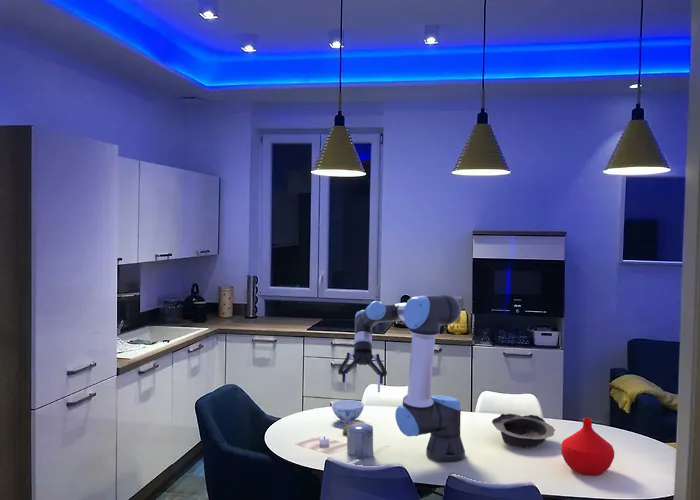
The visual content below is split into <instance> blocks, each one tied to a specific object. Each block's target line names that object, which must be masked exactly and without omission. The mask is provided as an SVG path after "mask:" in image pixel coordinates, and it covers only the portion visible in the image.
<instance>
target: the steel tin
mask: <svg viewBox="0 0 700 500" xmlns="http://www.w3.org/2000/svg"><path fill="white" fill-rule="evenodd" d="M346 443H347V449H346V453H347V454H348V455H349V456H351V457H354V458H356V460H367V459H368V460H369V459H370V458H373V455H374V427H373V425H371V424H369V423H368V424H367V423H362V422H361V423H358V424H351V425H349V426H348V427H347V436H346Z"/></svg>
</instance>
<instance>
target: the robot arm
mask: <svg viewBox="0 0 700 500" xmlns="http://www.w3.org/2000/svg"><path fill="white" fill-rule="evenodd" d="M461 312H462V306H461V304H460V302H459V300H458V299H457V298H456V297H454V296H452V295H450V294H433V295H432V294H431V295H418V296H413V297H411V298H409V299H408V300H407V302H399V303H390V304H384V303H383V302H381V301H379V300H374V301H372V302H371V303H370V304H369V305H367V306H366V308H365V309H362V310H360V311H357V312H356V313H355V318H354V345H353V347H354V348H353V353H350V352H347V353H346V356H345V359H344V360H343V362H342V364H341V365H340V367H339V369H338V371H337V372H338V375H341V376H342V377H341V378H342V379H341V381H342V383H343V384H344V391H345V392H347V390H348V387H347V385H348V374H349V372H350V371H351V370H352V369H354V368H355V366H357V365H358V366H367V365H368V366H369V367H370V368H371V369H372V370H373V371H374V372H375V373H376V374H377V393H380V392H381V385H383V382H384V379H383V378H384V377H387V375H388V370H387V369H386V368H385V365H384V364H383V362H382V361H381V358H380V354H379V353H376V354H373V328H374V327H375V326H376V325H377V324H378V323H389V322H398V321H400V322H403V321H404V323H405V326H406V327H407V328H408V332H410V334H411V347H410V361H409V370H408V380H407V381H408V383H407V393H406V395H405V396H404V397H402V405H399V406H397V408H396V409H395V414H394V415H395V422H396V425H397V427H398V429H399V431H400V432H401V433H402V434H403V435H404V436H407V437H418V436H420V435H421V436H422V435H427V434H430V436H429V439H428V442H427V446H426V450H425V456H426V457H428V459H430V460H432V461H436V462H441V463H455V462H460V461H463V460H464V459H465V457H466V450H465V446H464V443H463V440H462V437H461V417H462V416H461V415H462V414H461V411H462V409H461V401H460V400H459V399H458V398H455V397H452V396H448V395H442V394H434V395H431V390H432V389H431V388H432V378H433V377H432V376H433V368H434V367H433V366H434V356H435V355H434V353H435V344H436V337H437V336H438V335H440V333H441V332H440V331H441V327H442V326H449V325H451V324H454V323H456V322H457V321H458V320H459V319H460V317H461V314H462V313H461ZM351 359H353V360H352V362H351V363H349V361H350V360H351ZM373 360H374V361H376V363H377V365H378V366H377V365H376V364H375V362H374V361H373ZM348 363H349V365H348ZM347 365H348V366H347ZM346 366H347V367H346Z"/></svg>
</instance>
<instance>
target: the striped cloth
mask: <svg viewBox="0 0 700 500" xmlns="http://www.w3.org/2000/svg"><path fill="white" fill-rule="evenodd" d="M322 437H323V436H321V435H315V436H313V437H310V438H308V439H304V440H303V441H300V442H297V443H295V444H294V446H295V445H296V446H299V447H303V448H306V449H309V450H310V449H311V450H314V451H317V452H320V453H323V454H328V455H331V456H333V455H335V454H337V453H340V452H342V451H345V450H347V442H345V441H343V442H342V441H341V440H340V441H339V440H336V439H332V438H329V446H320V440H319V439H320V438H322Z"/></svg>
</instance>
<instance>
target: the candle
mask: <svg viewBox="0 0 700 500" xmlns="http://www.w3.org/2000/svg"><path fill="white" fill-rule="evenodd" d="M321 437H322V438H320V439H319V440H320V446H329V439H330V438H329V437H328V436H327V437H326V436H321Z"/></svg>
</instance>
